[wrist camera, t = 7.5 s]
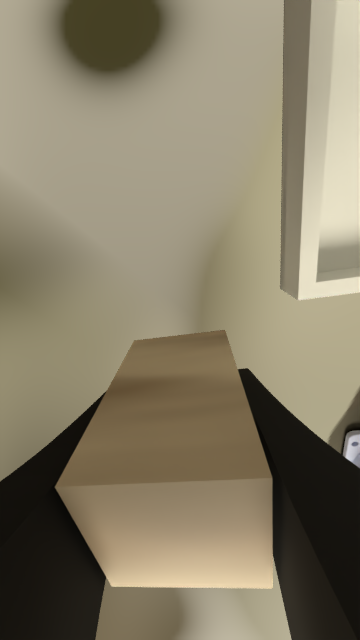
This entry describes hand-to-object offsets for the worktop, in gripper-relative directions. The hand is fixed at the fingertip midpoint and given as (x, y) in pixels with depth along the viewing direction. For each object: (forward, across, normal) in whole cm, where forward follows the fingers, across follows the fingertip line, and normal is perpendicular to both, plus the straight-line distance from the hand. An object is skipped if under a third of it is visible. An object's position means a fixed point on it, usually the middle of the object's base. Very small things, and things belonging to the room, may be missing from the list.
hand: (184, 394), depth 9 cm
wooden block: (+1, 0, 0) cm, 1 cm away
